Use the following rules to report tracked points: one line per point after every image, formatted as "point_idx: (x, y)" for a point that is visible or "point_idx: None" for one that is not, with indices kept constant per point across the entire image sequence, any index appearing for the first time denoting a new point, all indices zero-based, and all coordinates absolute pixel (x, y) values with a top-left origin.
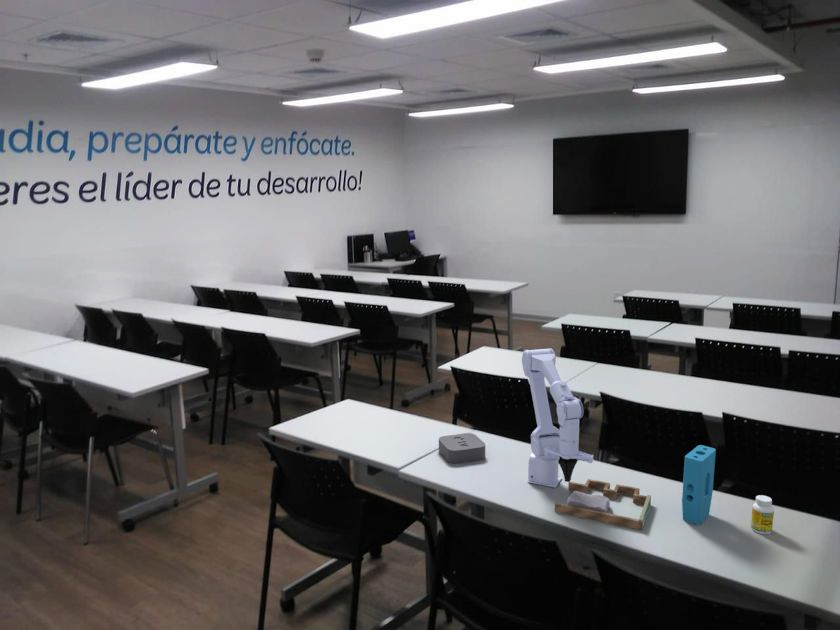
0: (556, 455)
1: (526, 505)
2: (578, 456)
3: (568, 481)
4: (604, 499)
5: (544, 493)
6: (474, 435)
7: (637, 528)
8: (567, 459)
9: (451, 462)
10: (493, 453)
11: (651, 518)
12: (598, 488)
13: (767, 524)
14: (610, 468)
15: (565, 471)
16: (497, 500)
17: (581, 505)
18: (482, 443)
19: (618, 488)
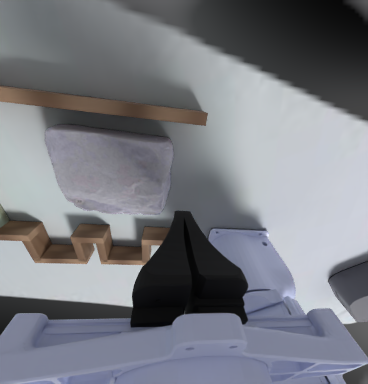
0: (263, 323)
1: (282, 125)
2: (86, 371)
3: (177, 211)
4: (66, 184)
5: (233, 201)
6: (358, 319)
7: None
8: (192, 308)
9: None
10: (311, 290)
11: None
12: (127, 248)
13: None
14: (132, 301)
15: (192, 237)
16: (360, 128)
17: (124, 135)
18: (354, 306)
19: (77, 251)
